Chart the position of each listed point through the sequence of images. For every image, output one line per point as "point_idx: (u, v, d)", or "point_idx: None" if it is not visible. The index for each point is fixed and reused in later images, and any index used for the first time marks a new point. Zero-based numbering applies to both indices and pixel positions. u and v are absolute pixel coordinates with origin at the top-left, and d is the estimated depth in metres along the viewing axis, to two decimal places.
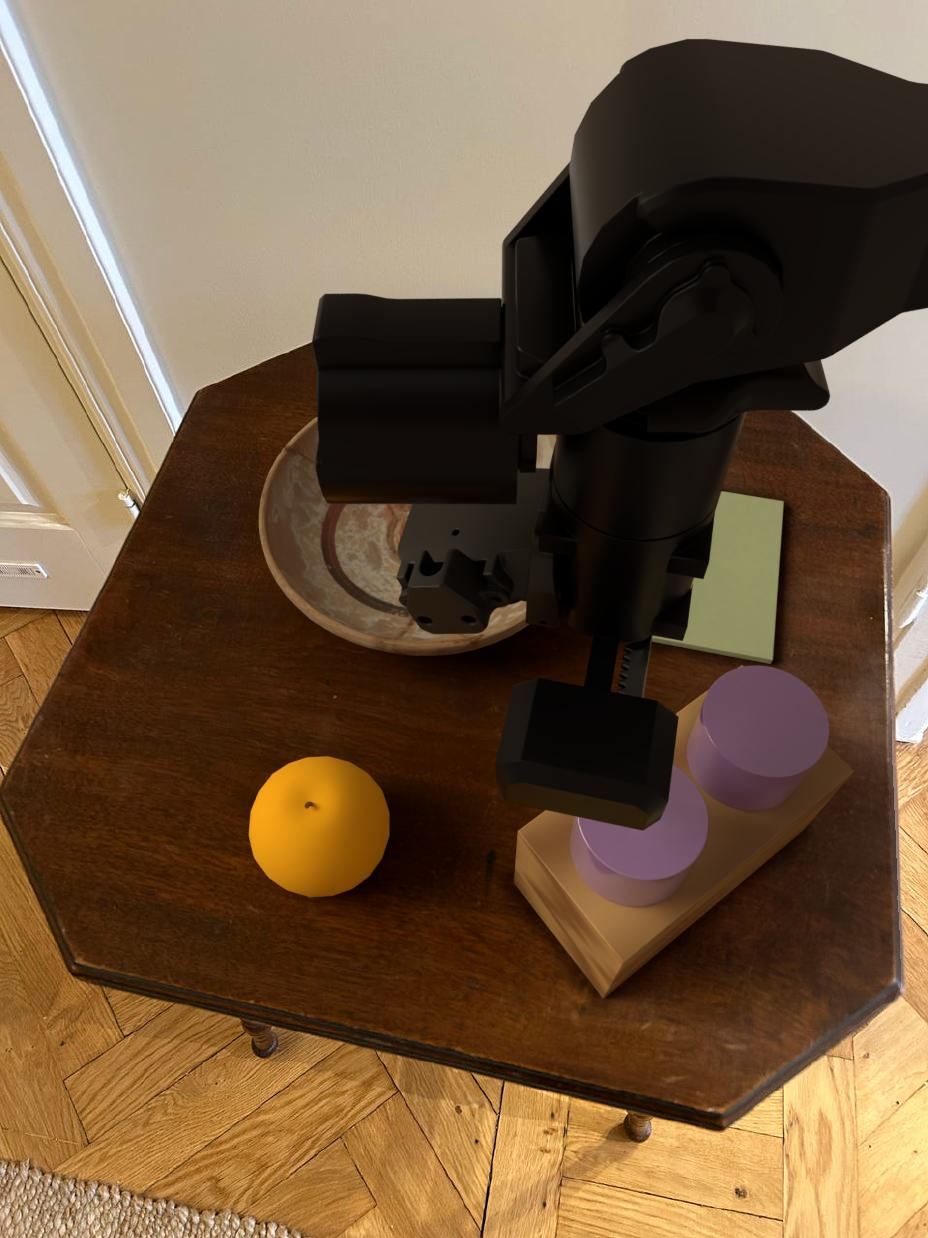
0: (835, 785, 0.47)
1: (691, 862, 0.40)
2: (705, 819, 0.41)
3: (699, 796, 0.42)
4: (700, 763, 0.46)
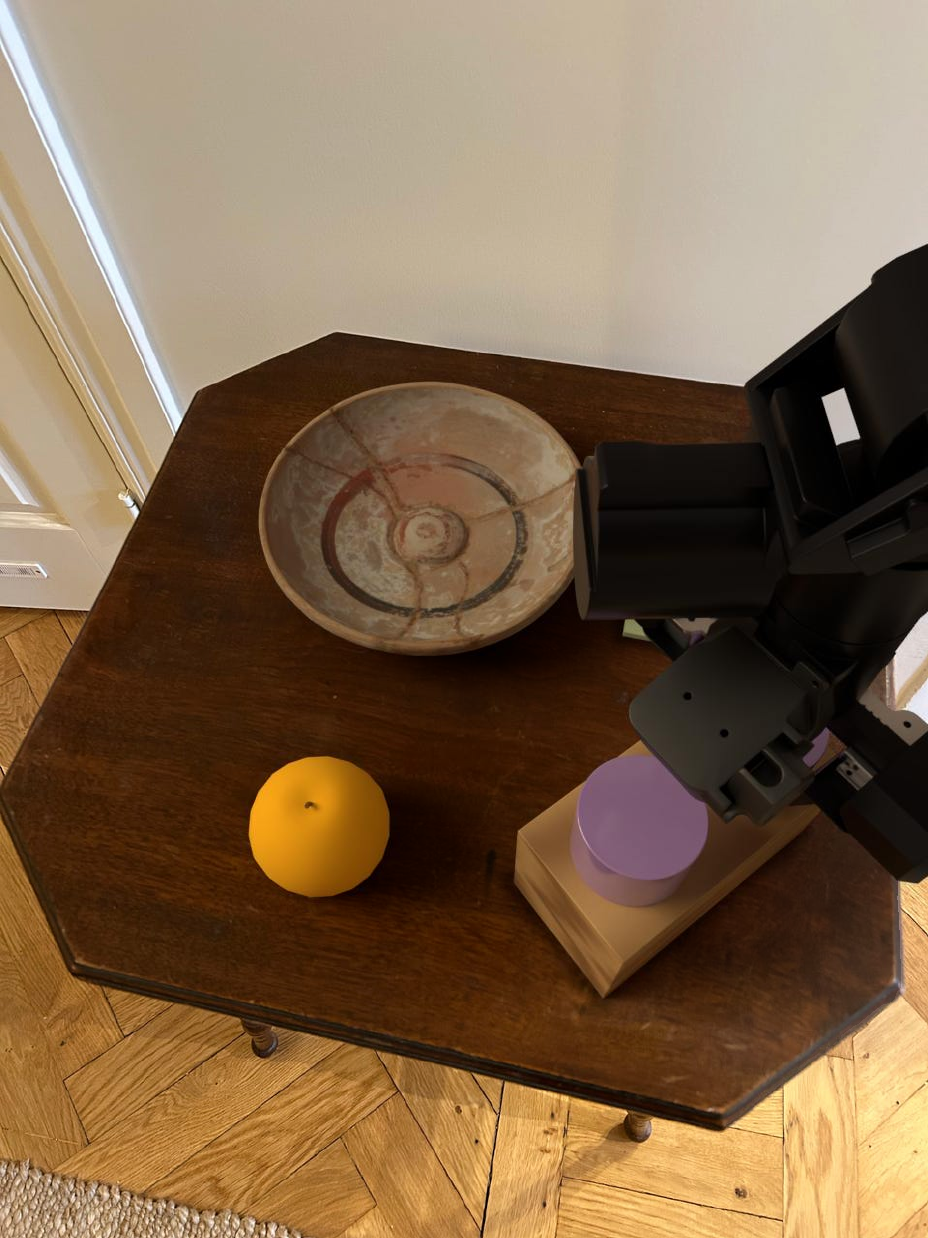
0: None
1: (691, 862, 0.40)
2: (705, 819, 0.41)
3: None
4: None
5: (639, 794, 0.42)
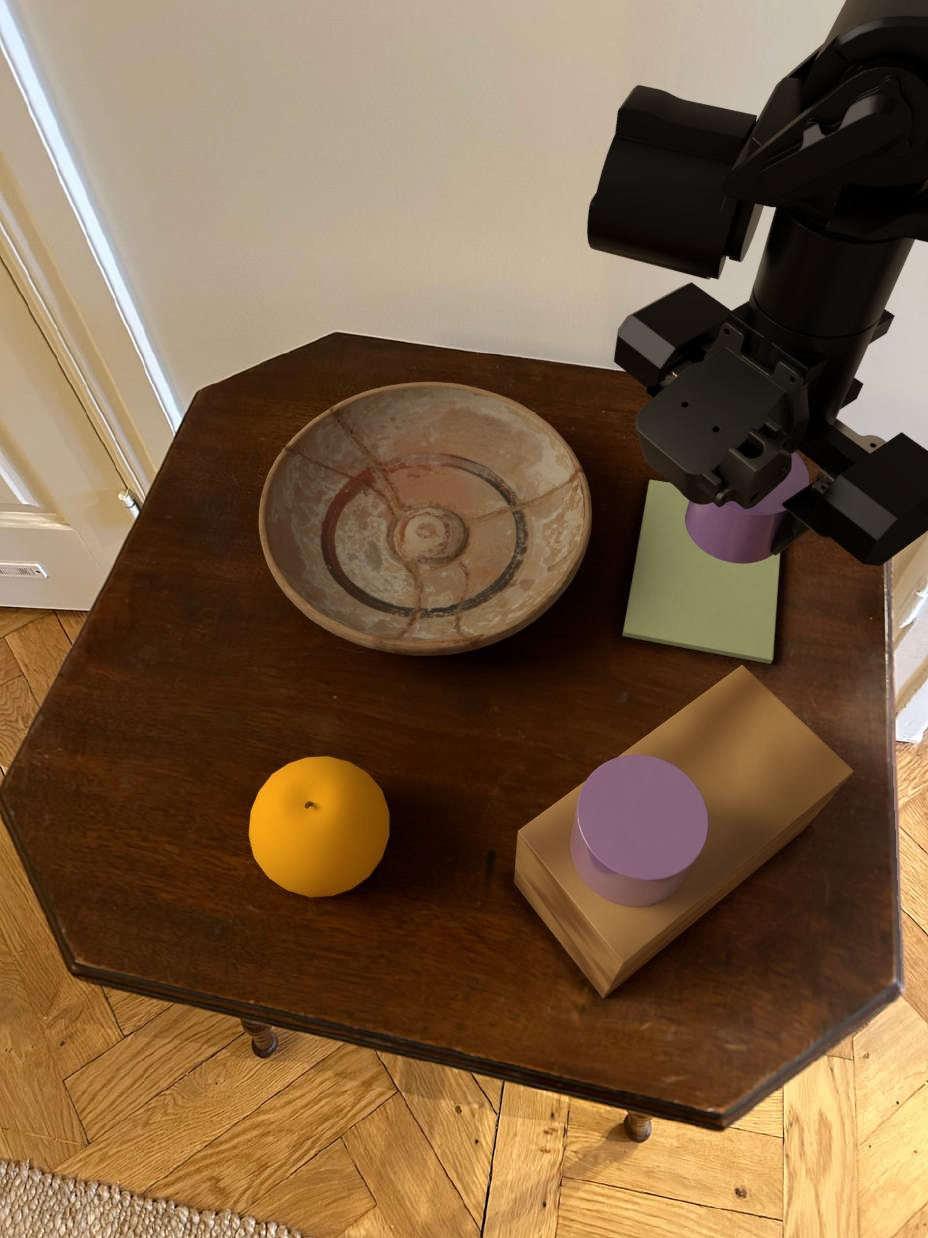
0: (835, 785, 0.47)
1: (691, 862, 0.40)
2: (705, 819, 0.41)
3: (699, 796, 0.42)
4: (697, 519, 0.52)
5: (639, 794, 0.42)
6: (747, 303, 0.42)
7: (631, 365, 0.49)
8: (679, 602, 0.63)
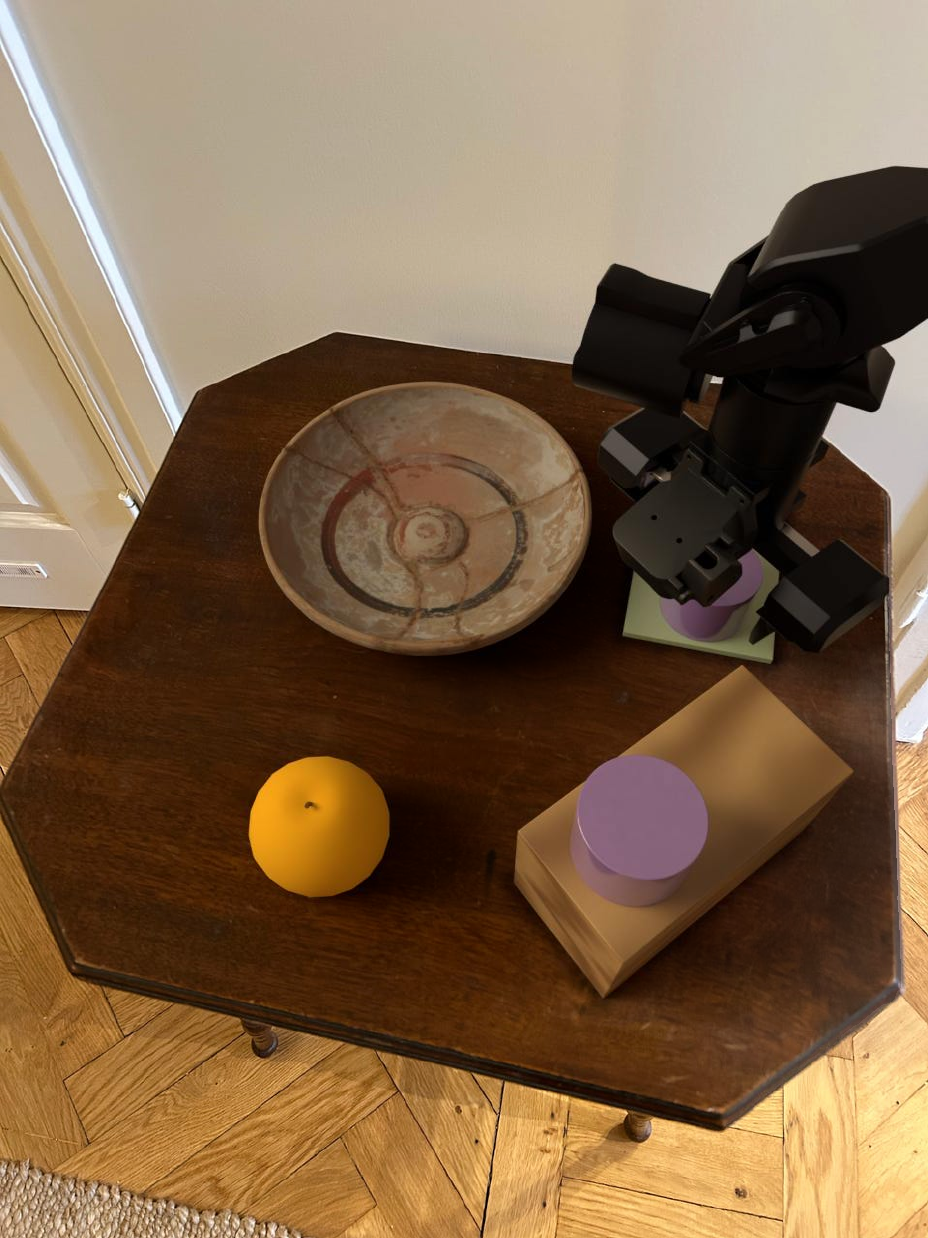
0: (835, 785, 0.47)
1: (691, 862, 0.40)
2: (705, 819, 0.41)
3: (699, 796, 0.42)
4: (668, 605, 0.61)
5: (639, 794, 0.42)
6: (706, 433, 0.50)
7: (612, 469, 0.57)
8: None
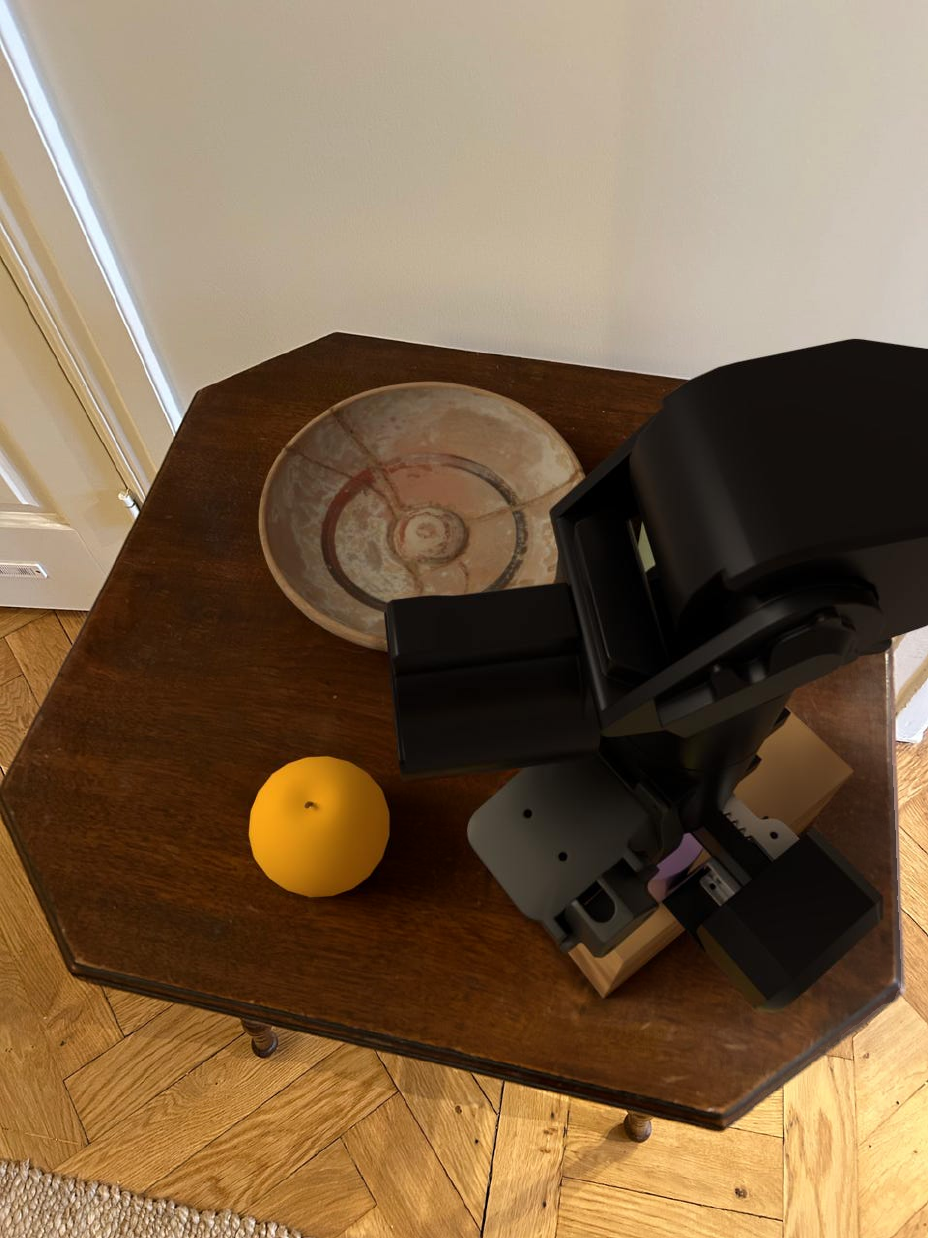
0: (835, 785, 0.47)
1: (691, 862, 0.40)
2: None
3: None
4: None
5: None
6: None
7: None
8: None
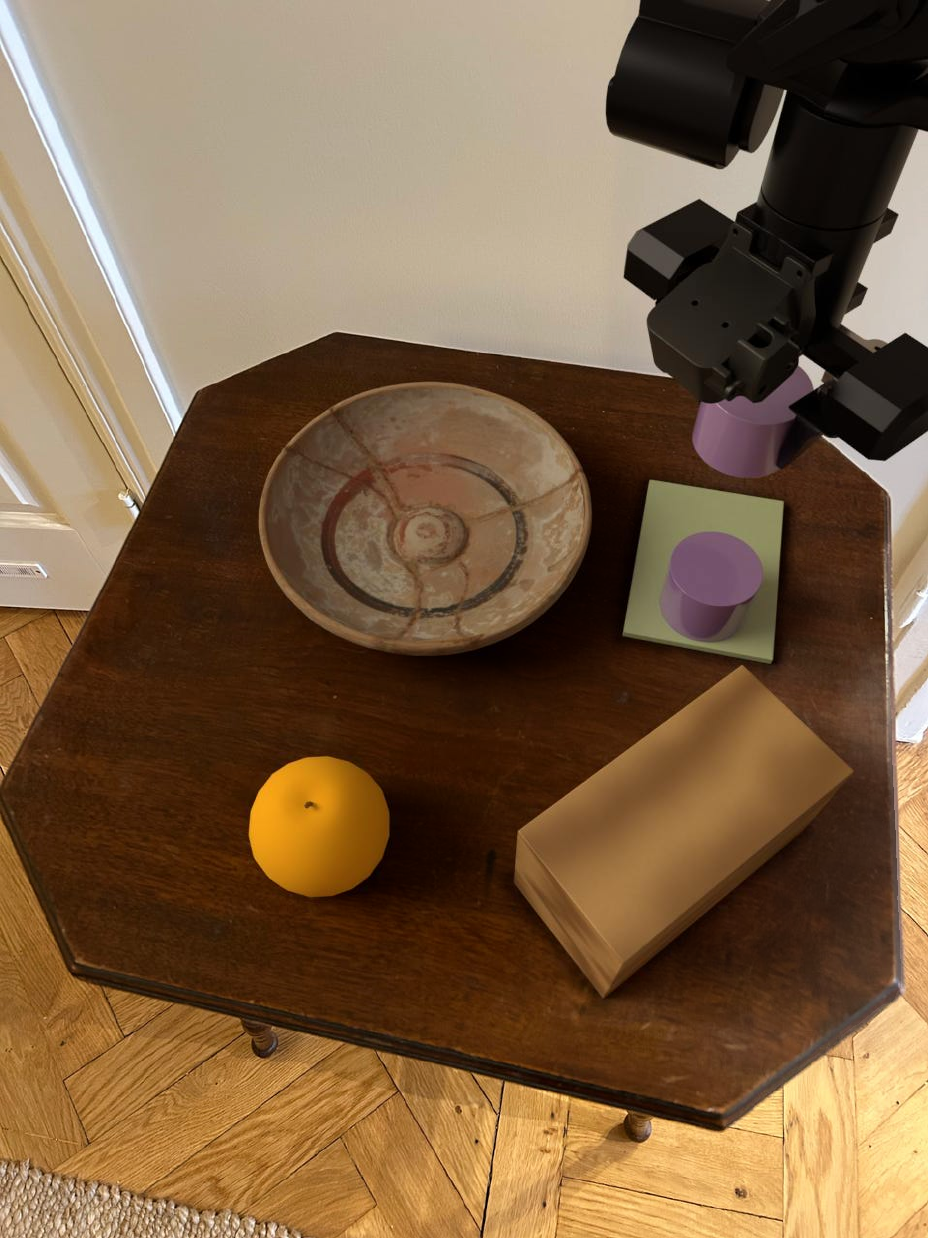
0: (835, 785, 0.47)
1: None
2: (810, 387, 0.51)
3: (804, 374, 0.52)
4: (668, 605, 0.61)
5: None
6: (755, 204, 0.43)
7: (640, 279, 0.50)
8: None
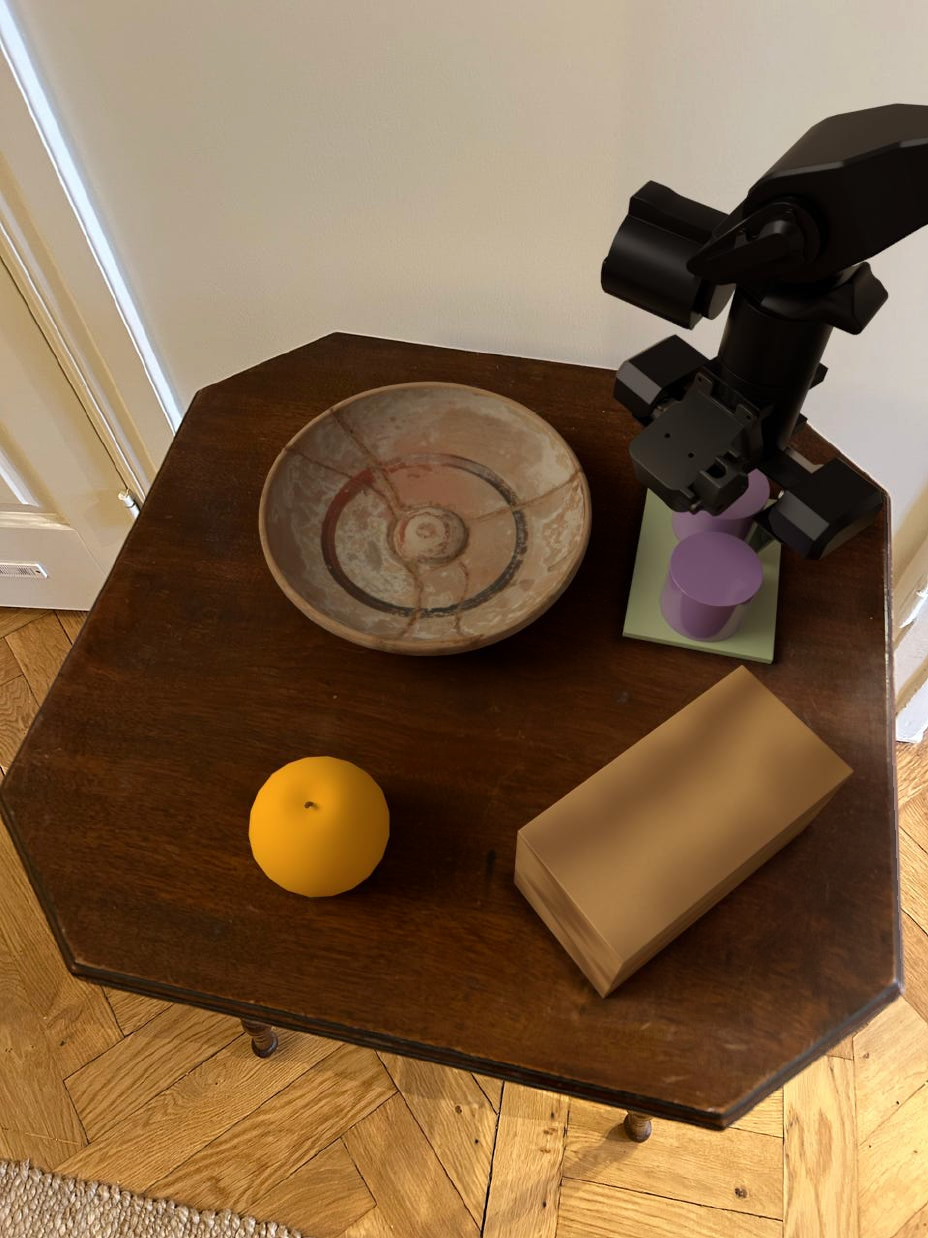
0: (835, 785, 0.47)
1: (759, 509, 0.61)
2: (767, 487, 0.62)
3: (762, 474, 0.63)
4: (668, 605, 0.61)
5: None
6: (715, 358, 0.54)
7: (627, 400, 0.62)
8: None
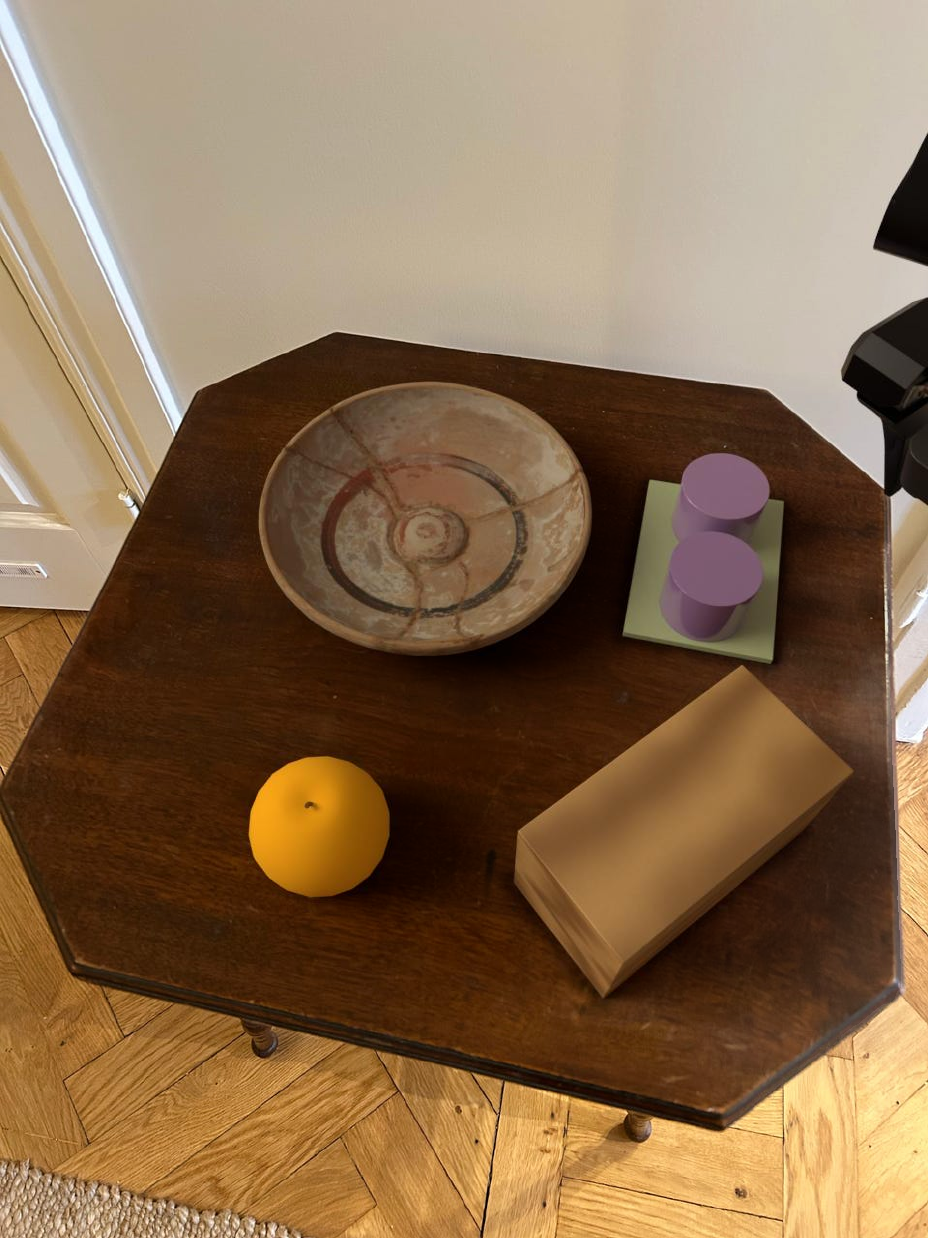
0: (835, 785, 0.47)
1: (759, 509, 0.61)
2: (767, 487, 0.62)
3: (762, 474, 0.63)
4: (668, 605, 0.61)
5: (723, 474, 0.63)
6: None
7: (866, 385, 0.47)
8: None
